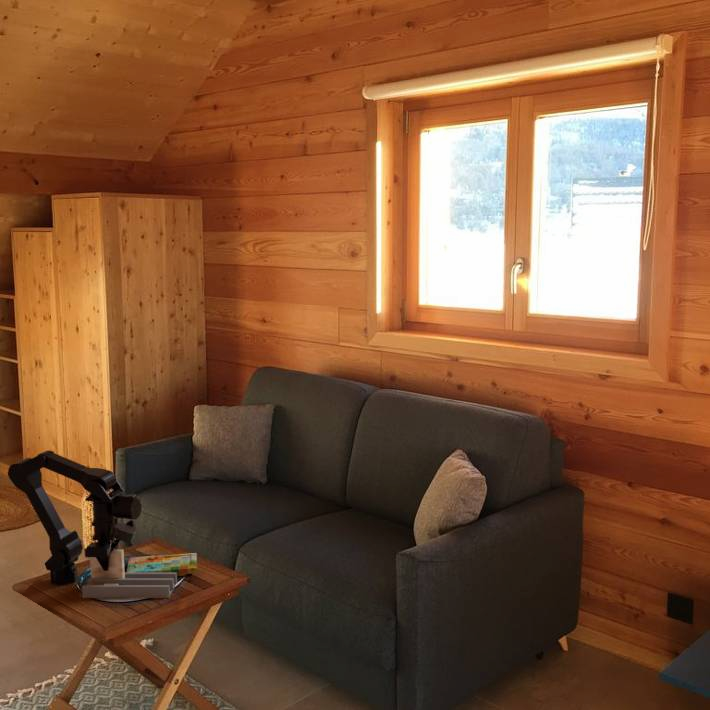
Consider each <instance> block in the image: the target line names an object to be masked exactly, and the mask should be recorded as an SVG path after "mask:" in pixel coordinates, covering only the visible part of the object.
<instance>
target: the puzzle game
mask: <svg viewBox="0 0 710 710" xmlns="http://www.w3.org/2000/svg"><path fill="white" fill-rule="evenodd" d="M126 572H177V577H178V576H179V577H180V576H186V575H191V574H192V575H193V574H196V573H197V572H198V553H197V552H194V553H192V552H191V553H177V554H176V553H175V554H162V555H161V554H160V555H155V554H151V555H147V556H132V557H128V562H127V568H126Z"/></svg>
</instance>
